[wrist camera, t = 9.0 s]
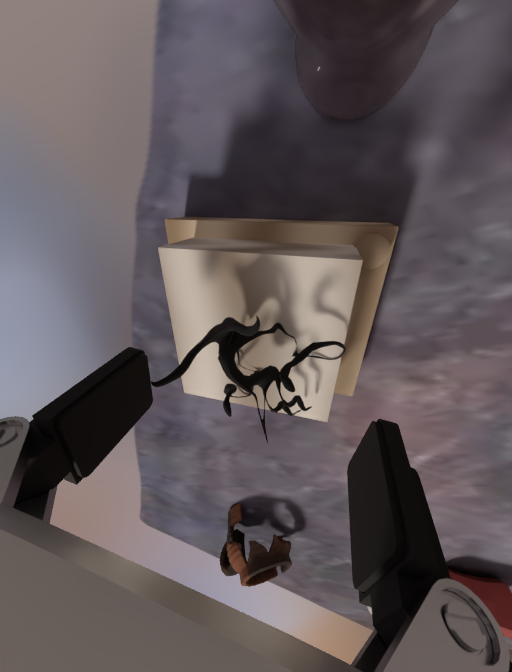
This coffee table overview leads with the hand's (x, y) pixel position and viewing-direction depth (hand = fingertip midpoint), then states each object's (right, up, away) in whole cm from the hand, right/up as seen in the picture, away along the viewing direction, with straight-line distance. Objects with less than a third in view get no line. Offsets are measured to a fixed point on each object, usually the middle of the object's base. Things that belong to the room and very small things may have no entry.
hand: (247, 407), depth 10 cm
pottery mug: (0, -26, +28) cm, 39 cm away
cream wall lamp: (+2, +6, +10) cm, 12 cm away
